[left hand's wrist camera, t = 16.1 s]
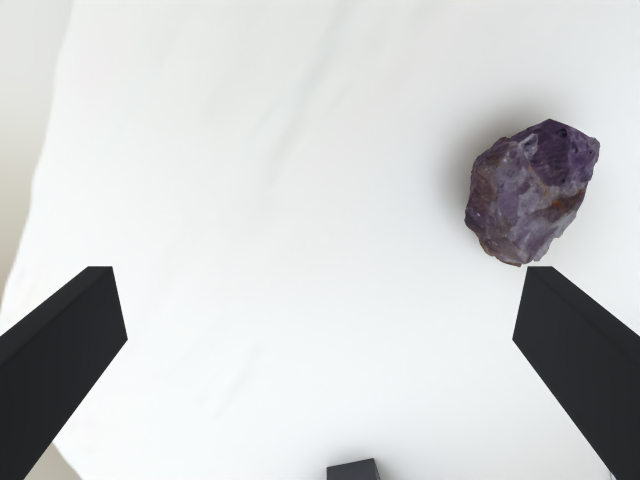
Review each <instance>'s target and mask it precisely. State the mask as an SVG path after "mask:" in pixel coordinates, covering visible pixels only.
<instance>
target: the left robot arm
mask: <svg viewBox="0 0 640 480" xmlns="http://www.w3.org/2000/svg"><path fill="white" fill-rule="evenodd" d="M127 340H128V338H127V334H126V329H125V324H124V319H123V315H122V310H121V305H120V301H119V296H118V291H117V287H116V282H115V277H114V273H113V268H112V266H88V267H87V268H85V269H84V270H83V271H82V272H80V273H79V274H78V275H77V276H75V277H74V278H73V279H72V280H70V281H69V282H68V283H67V284H65V285H64V286H63V287H62V288H60V289H59V290H58V291H57V292H55V293H54V294H53V295H52V296H50V297H49V298H48V299H47V300H45V301H44V302H43V303H42V304H40V305H39V306H38V307H37V308H35V309H34V310H33V311H32V312H30V313H29V314H28V315H27V316H25V317H24V318H23V319H22V320H20V321H19V322H18V323H17V324H15V325H14V326H13V327H12V328H10V329H9V330H8V331H7V332H5V333H4V334H3V335H2V336H0V480H24V478H25V477H26V476H27V474H28V473H29V472H30V470H31V469H32V468H33V466H34V465H35V463H36V462H37V461H38V460H39V458H40V457H41V455H42V454H43V453H44V451H45V450H46V449H47V447H48V446H49V445H50V443H51V442H52V441H53V439H54V438H55V437H56V435H57V434H58V433H59V431H60V430H61V429H62V427H63V426H64V425H65V423H66V422H67V421H68V419H69V418H70V416H71V415H72V414H73V412H74V411H75V410H76V408H77V407H78V406H79V404H80V403H81V402H82V400H83V399H84V398H85V396H86V395H87V394H88V392H89V391H90V390H91V388H92V387H93V386H94V384H95V383H96V382H97V380H98V379H99V377H100V376H101V375H102V373H103V372H104V371H105V369H106V368H107V367H108V365H109V364H110V363H111V361H112V360H113V359H114V357H115V356H116V355H117V353H118V352H119V351H120V349H121V348H122V347H123V345H124V344H125V343H126V341H127ZM512 340H513V341H514V343H515V344H516V345H517V347H518V348H519V349H520V351H521V352H522V353H523V355H524V356H525V357H526V359H527V360H528V361H529V363H530V364H531V365H532V367H533V368H534V369H535V371H536V372H537V373H538V375H539V376H540V377H541V379H542V380H543V382H544V383H545V384H546V386H547V387H548V388H549V390H550V391H551V392H552V394H553V395H554V396H555V398H556V399H557V400H558V402H559V403H560V404H561V406H562V407H563V408H564V410H565V411H566V412H567V414H568V415H569V416H570V418H571V419H572V421H573V422H574V423H575V425H576V426H577V427H578V429H579V430H580V431H581V433H582V434H583V435H584V437H585V438H586V439H587V441H588V442H589V443H590V445H591V446H592V447H593V449H594V450H595V451H596V453H597V454H598V455H599V457H600V458H601V460H602V461H603V462H604V464H605V465H606V466H607V468H608V469H609V470H610V472H611V473H612V474H613V476H614V477H615V478H616V480H640V336H638V335H637V334H636V333H635V332H633V331H632V330H631V329H630V328H628V327H627V326H626V325H625V324H623V323H622V322H621V321H620V320H618V319H617V318H616V317H615V316H613V315H612V314H611V313H610V312H608V311H607V310H606V309H605V308H603V307H602V306H601V305H600V304H598V303H597V302H596V301H595V300H593V299H592V298H591V297H590V296H588V295H587V294H586V293H585V292H583V291H582V290H581V289H580V288H578V287H577V286H576V285H575V284H573V283H572V282H571V281H570V280H568V279H567V278H566V277H565V276H563V275H562V274H561V273H560V272H558V271H557V270H556V269H555V268H553V267H552V266H528V268H527V273H526V277H525V282H524V287H523V291H522V296H521V301H520V305H519V310H518V315H517V319H516V324H515V329H514V334H513V338H512Z"/></svg>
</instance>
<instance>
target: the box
mask: <svg viewBox="0 0 640 480" xmlns="http://www.w3.org/2000/svg"><path fill="white" fill-rule="evenodd" d="M327 480H380V477H379V474H378V471H377V467H376V464H375V461H374V459H368V460H363V461H358V462H353V463H348V464H343V465H338V466H333V467H328V468H327Z"/></svg>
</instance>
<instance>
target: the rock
mask: <svg viewBox="0 0 640 480" xmlns="http://www.w3.org/2000/svg"><path fill="white" fill-rule="evenodd" d="M599 148H600V143H599V142H598V141H597V139H596V138H593V137H588V136H587V135H585V134H584V133H582V132H580V131H579V130H577V129H575V128H573V127H570V126H568V125H565V124H563V123H560V122H557V121H554V120H552V119H548V120H546V121H543V122H542V123H540V124H537V125H534V126H531V127H529V128H527V129H526V130H524V131H522V132H520V133H518V134H516V135H514V136H512V138H511V139H510V138H506V137H503V138H500V139H499V140H498V141H497V142H496V143H495V144H494V145H493V146H492V147H491V148H490V149H488V150H486V151H485V152H484V153H483V154H481V155H480V156H478V157H477V159H476V160H475V162H474V165H473V170H472V172H471V173H472V175H471V186H470V196H469V202H468V204H467V207H466V210H465V214H466V217H465V220H464V221H465V223H466V226H467V227H468V228H469V229H471V230H472V231H473V232H475V234H476V235H477V237H478V238H479V241H480V245H481V246H482V248H483V249H484V251H485V252H486V253H487V254H488V255H490V256H495V257H496V258H497V259H499V260H500V261H501V262H503V263H506V264H510V265H513V266H517V267H521V265H522V264H527V263H529V262H531V261H532V260H533V259H534V261H539V260H540V259H541V257H542V256H544V255H545V254H546V252H547V251H548V249H549V245H550V243H551V242H552V240H553V239H554V238H559V237H560V236H561V235H562V234H563V231H564V230H565V229H566V228H567V226H568V225H569V224H570V223H571V222H572V221H573V220H574V219H575V217H576V212H577V211H578V209H579V207H580V205H581V203H582V202H583V199H584V196H585V192H586V187H587V184H588V181H590V180H591V177H592V175H593V167H594V165H595V163H596V162H597V161H598V157H599Z"/></svg>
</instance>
